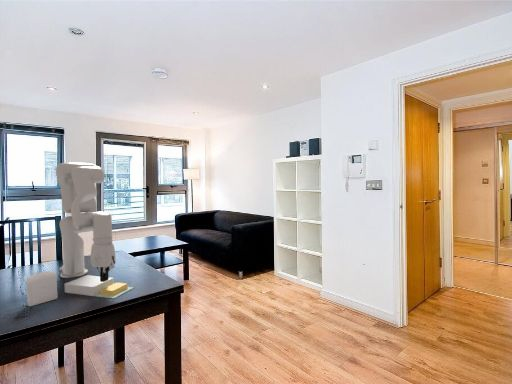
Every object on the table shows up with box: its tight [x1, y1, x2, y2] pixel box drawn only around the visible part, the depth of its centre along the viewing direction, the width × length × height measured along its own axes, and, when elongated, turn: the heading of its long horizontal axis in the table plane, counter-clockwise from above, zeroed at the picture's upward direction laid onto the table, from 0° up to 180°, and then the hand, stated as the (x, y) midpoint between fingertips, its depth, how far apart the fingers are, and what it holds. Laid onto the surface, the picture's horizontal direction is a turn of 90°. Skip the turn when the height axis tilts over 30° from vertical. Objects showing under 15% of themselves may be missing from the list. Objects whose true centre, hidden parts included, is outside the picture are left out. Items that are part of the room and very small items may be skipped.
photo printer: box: [26, 270, 59, 307], centre depth 119 cm, size 10×4×12 cm, turn 140°
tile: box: [101, 282, 128, 295], centre depth 129 cm, size 6×9×2 cm, turn 164°
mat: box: [93, 286, 134, 300], centre depth 129 cm, size 11×12×1 cm
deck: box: [64, 274, 115, 297], centre depth 133 cm, size 16×12×4 cm
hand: (104, 280), depth 130 cm, fingers closed
